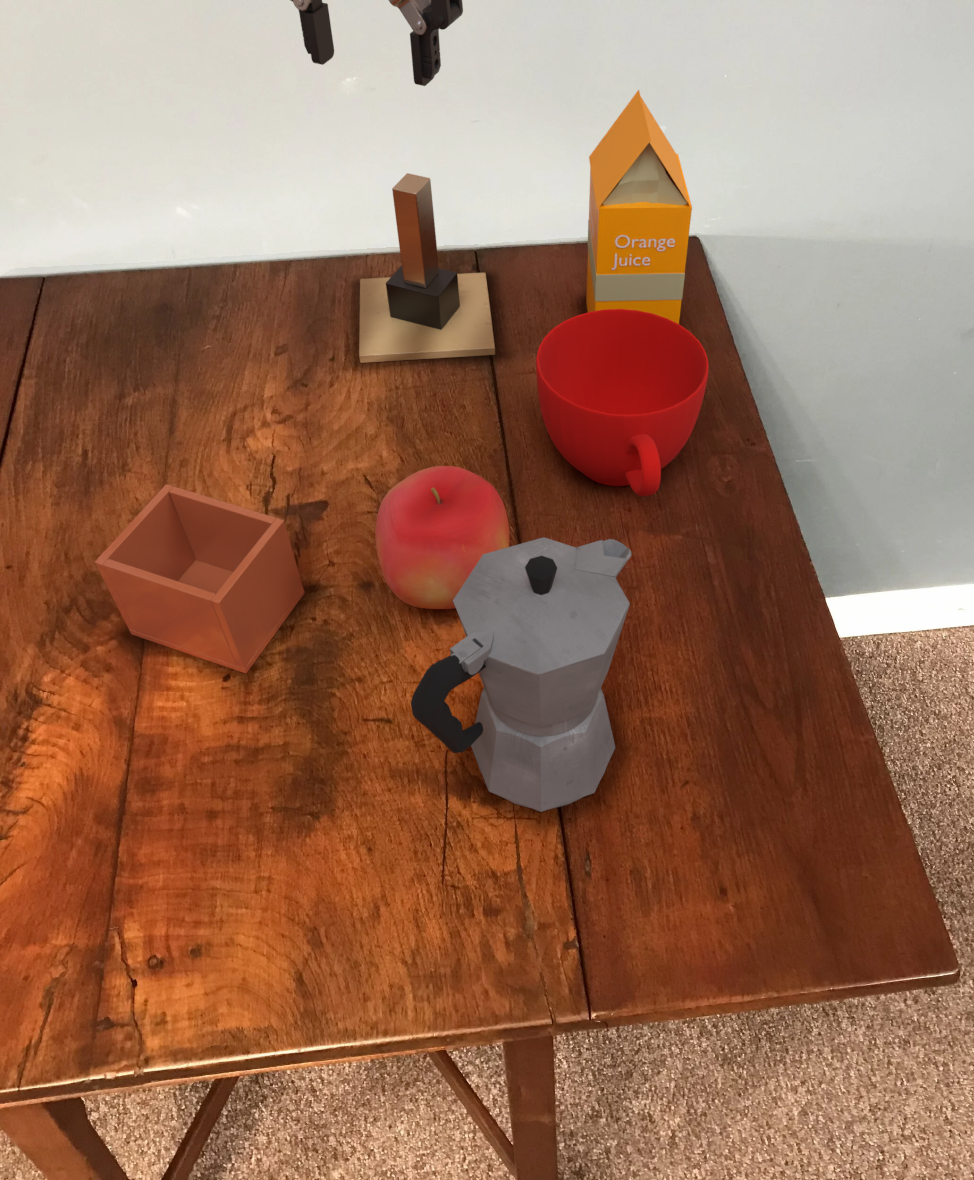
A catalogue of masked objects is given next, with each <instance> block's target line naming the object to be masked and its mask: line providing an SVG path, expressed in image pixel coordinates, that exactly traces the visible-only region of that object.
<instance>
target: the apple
mask: <svg viewBox="0 0 974 1180" xmlns="http://www.w3.org/2000/svg"><path fill="white" fill-rule="evenodd" d="M508 518H509V517H508V514H507V510H506V507H505V504H504V501H503V499H502V497H501V496H500V494H499V492H498V491H497V489H496V488H495V487H494V486H493V485H492V484H491V483H490V482H488V480H486V479H484V477H482V476H480V475H478V474H476V473H474V472H472V471H470V470H468V469H466V468H463V467H460V466H452V465H436V466H431V467H430V466H429V467H427V468H424V469H420V470H418V471H415V472H414V473H411V474H410V475H408V476H406V477H405V478H403V479H402V480H401V481H399V482H397V483H396V484H395V485H394V486H392V488H391V489H389V490H388V491H387V493H386V494H385V496H384V497H383V499H382V500H381V503H380V505H379V508H378V512H377V514H376V520H375V521H376V522H375V530H374V531H375V532H374V533H375V535H374V536H375V550H376V556H377V560H378V565H379V568H380V571H381V574H382V576H383V578H384V581H385V582H386V584H387V586H388V588H389V589H390V590H391V592H392V593H393V594H394V595H395V596H396V597H397V598H398V599H399V600H401V601H402V602H403V603H405V604H407V605H409V606H412V607H415V608H420V609H428V610H454V609H456V608H455V605H454V603H453V600H454V598H455V597H456V595H457V594H458V592H459V590H460V589H461V587H462V586H463V584H464V583H465V581H466V580H467V578H468V577H469V575H470V574H471V572H472V571H473V569H474V568H475V566H476V564H477V563H478V561H479V560H480V558H481V557H482V555H483V554H486V553H490V552H493V551H497V550H500V549H504V548H507V547H510V525H509V519H508Z"/></svg>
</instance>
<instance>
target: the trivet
mask: <svg viewBox="0 0 974 1180" xmlns="http://www.w3.org/2000/svg"><path fill="white" fill-rule="evenodd" d="M457 276H458V289H459V302H460V307H459V308H458V309H457V311H456V312H455V313H454V314H453V316H452V317H451V318H450V320H449V321H448V322H447V323H446V325H445V326H444V327H443V329H442V330H440V329H436V328H432V327H428V326H424V325H420V324H416V323H412V322H408V321H404V320H400V319H396V318H393V317H390V310H389V303H388V296H387V289H386V282H387V281H388V280H389V279H390V278H391V277H392V276H387V277H371V278H369V277H368V278H360V279H359V326H358V327H359V329H358V330H359V335H358V336H359V339H358V340H359V341H358V357H359V362H360V363H361V364H364V363H383V362H399V361H414V360H416V361H417V360H433V359H449V358H467V357H481V356H482V357H484V356H495V355H496V347H495V346H496V344H495V337H494V330H493V322H492V321H493V320H492V312H491V304H490V297H489V290H488V281H487V273H486V272H470V273H457Z"/></svg>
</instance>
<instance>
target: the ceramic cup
mask: <svg viewBox="0 0 974 1180" xmlns="http://www.w3.org/2000/svg"><path fill="white" fill-rule="evenodd" d="M535 374H536V384H537V385H536V386H537V394H538V402H539V408H540V413H541V416H542V420H543V423H544V425H545V428H546V430H547V433H548V436H549V438H550V440H551V442H552V444H553V445H554V446H555V448H556V449H557V450H558V452H559V453H560V455H561V456H562V457H563V458H564V459H565V461H567V462H568V463H569V464H570V465H571V466H572V467H573V468H574V469H576V470H577V471H579V472H580V473H582V474H583V475H584V476H586V477H587V478H588V479H590V480H591V481H594V482H596V483H598V484H601V485H606V486H613V487H624V486H625V487H626V486H630V488H631V490H632V491H633V492H634V493H635V494H636V495H637V496H639V497H650V496H653V495H655V494H656V493H657V492H658V490H659V489H660V485H661V481H662V480H661V478H662V470H663V469H664V468H666V466H668V464H670V463H671V462H672V461H673V460H674V459H675V458H676V457H677V456H678V455H679V454H680V452H681V451H682V449H683V448H684V446H685V445H686V444H687V442H688V441H689V438H690V437H691V435H692V432H694V429H695V426H696V422H697V420H698V417H699V414H700V412H701V408H702V405H703V401H704V398H705V393H706V390H707V384H708V380H709V359H708V355H707V351H706V350H705V348H704V346H703V345H702V343H701V342H700V340H699V339H698V338H696V336H695V335H694V334H693V333H692V332H691V331H689V330H688V329H687V328H685V327H683V326H682V325H681V324H680V323H679V324H677V323H675V322H673V321H671V320H669V319H667V318H665V317H662V316H659V315H656V314H653V313H648V312H643V311H638V310H627V309H605V310H598V311H592V312H588V311H587V312H585V313H581V314H578V315H574V316H572V317H570V318H568V319H565V320H564V321H562V322H561V323H559V324H557V325H556V326H555V327H553V328H552V329H551V330H550V331H549V332H548V333H547V334H546V335H545V336H544V337H543V339H542V340H541V342H540V344H539V346H538V349H537V352H536V359H535Z"/></svg>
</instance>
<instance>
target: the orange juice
mask: <svg viewBox="0 0 974 1180" xmlns="http://www.w3.org/2000/svg"><path fill="white" fill-rule="evenodd" d="M588 159H589V160H588V162H589V198H588V199H589V200H588V220H587V263H586V264H587V269H586V297H585V299H586V301H585V302H586V311H587V313H588V312H592V311H598V310H605V309H627V310H638V311H643V312H648V313H653V314H656V315H659V316H662V317H665V318H667V319H669V320H671V321H673V322H675V323H677V324H679V325H680V319H681V310H682V309H681V308H682V300H683V294H684V289H685V287H684V285H685V278H686V277H685V276H686V264H687V257H688V247H689V238H690V229H691V220H692V211H693V206H692V202H691V199H690V195H689V191H688V187H687V183H686V180H685V179H686V178H685V176H684V172H683V171H684V170H683V168H682V164H681V160H680V156H679V153H676V151H675V150H674V148H673V146H672V144H671V143H670V140H668V138H667V136H666V135H665V133H664V132H663V129H662V128H661V126H660V125H659V124H658V121H657V120H656V118H655V117H654V116H653V113H652V112H651V111H650V109H649V107H648V106H647V104H646V102H645V101H644V99H643V97H642V96H641V92H640V89H638V90H636V92H635V94H634V95H633V96H632V98H631V99H630V101H629V102H628V103H627V104H626V106H625V108H624V109H623V110H622V111H621V113H620V114H619V116H618V117H617V118H616V119H615V121H614V122H613V124H612V125H611V126H610V127H609V128H608V130H607V132H606V133H605V135H604V136H603V137H602V138H601V140H600V141H599V142H598V144H597V145H596V147H594V149H593V151H592V152H591V153H590V155H589V156H588Z"/></svg>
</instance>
